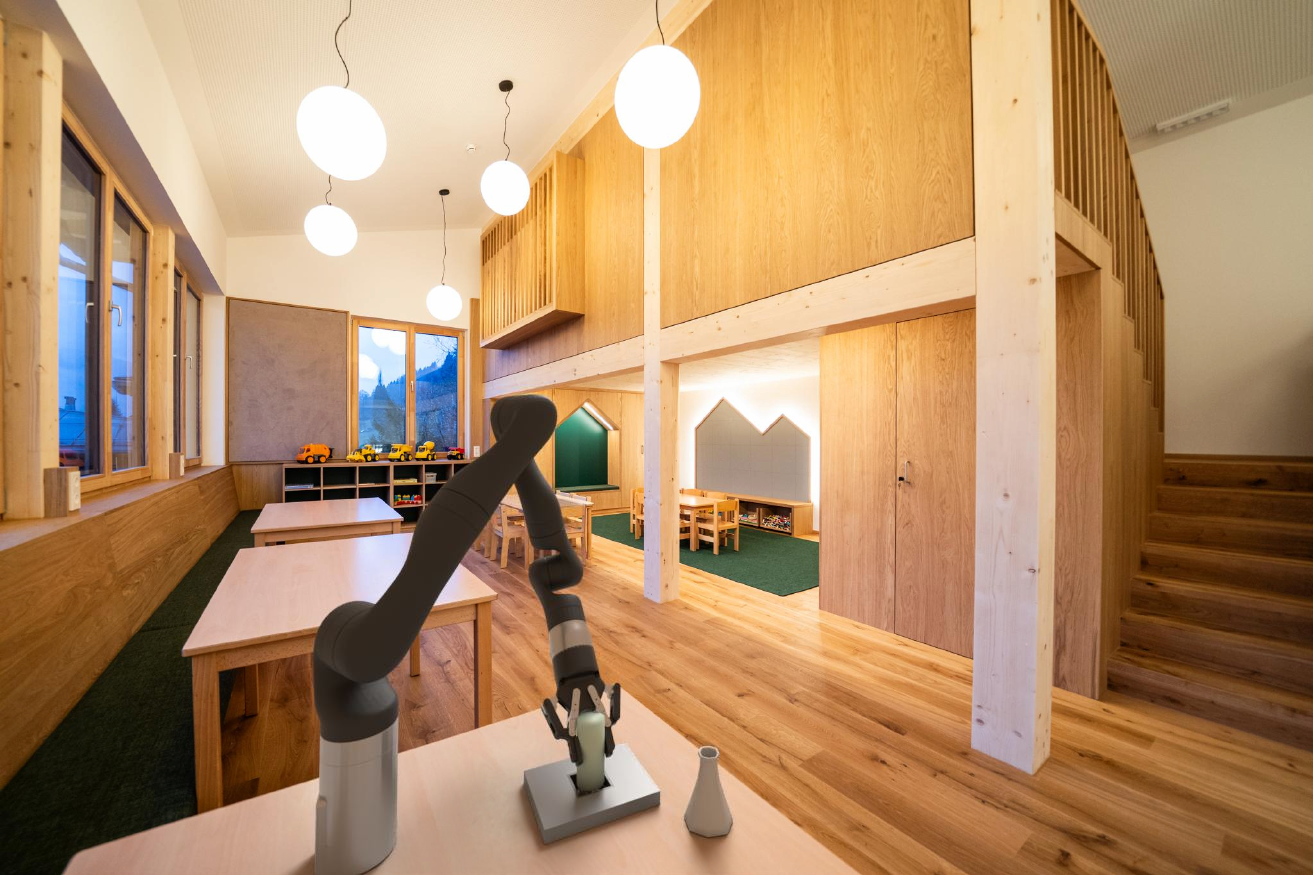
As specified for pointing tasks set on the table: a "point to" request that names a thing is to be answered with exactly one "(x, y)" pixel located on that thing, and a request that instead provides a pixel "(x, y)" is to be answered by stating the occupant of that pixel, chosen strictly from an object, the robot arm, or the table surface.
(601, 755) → the peg
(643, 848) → the table surface
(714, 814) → the flask
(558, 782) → the socket plate
